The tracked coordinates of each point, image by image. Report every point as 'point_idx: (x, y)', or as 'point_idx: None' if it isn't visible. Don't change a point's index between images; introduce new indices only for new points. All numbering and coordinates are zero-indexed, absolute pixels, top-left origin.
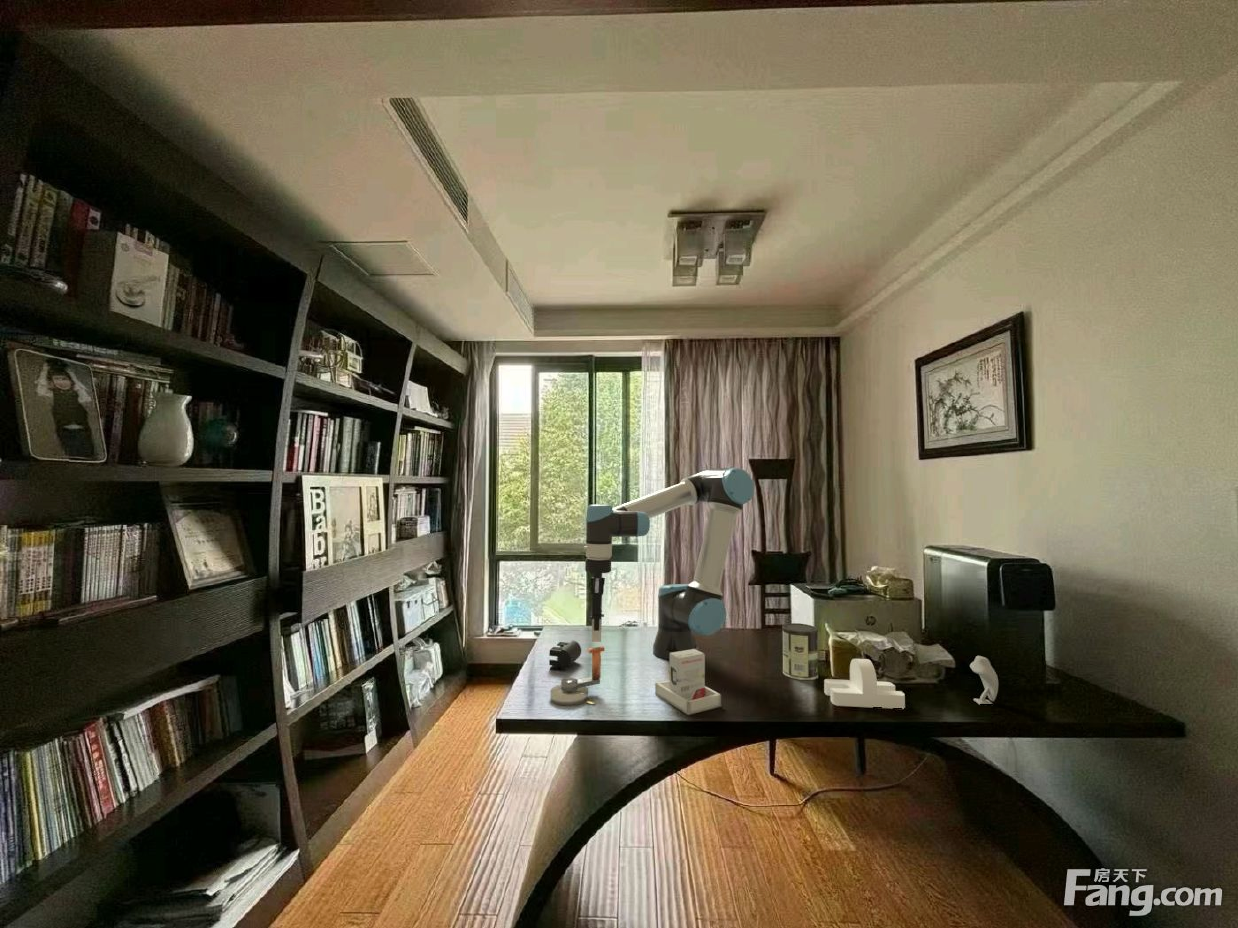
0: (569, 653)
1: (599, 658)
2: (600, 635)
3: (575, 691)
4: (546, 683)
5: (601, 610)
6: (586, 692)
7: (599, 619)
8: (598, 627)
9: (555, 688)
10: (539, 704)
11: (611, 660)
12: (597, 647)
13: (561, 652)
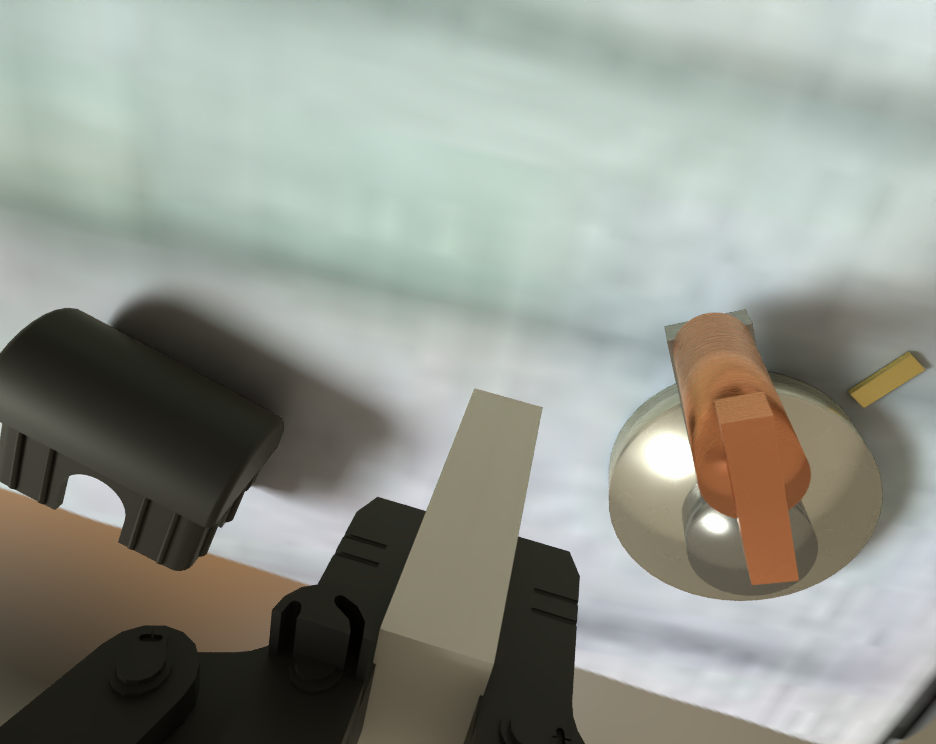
0: (225, 459)
1: (789, 420)
2: (531, 461)
3: None
4: None
5: (175, 703)
6: (824, 417)
7: (489, 679)
8: (575, 601)
9: (673, 566)
10: (758, 620)
11: (42, 30)
12: (744, 490)
13: (224, 513)
